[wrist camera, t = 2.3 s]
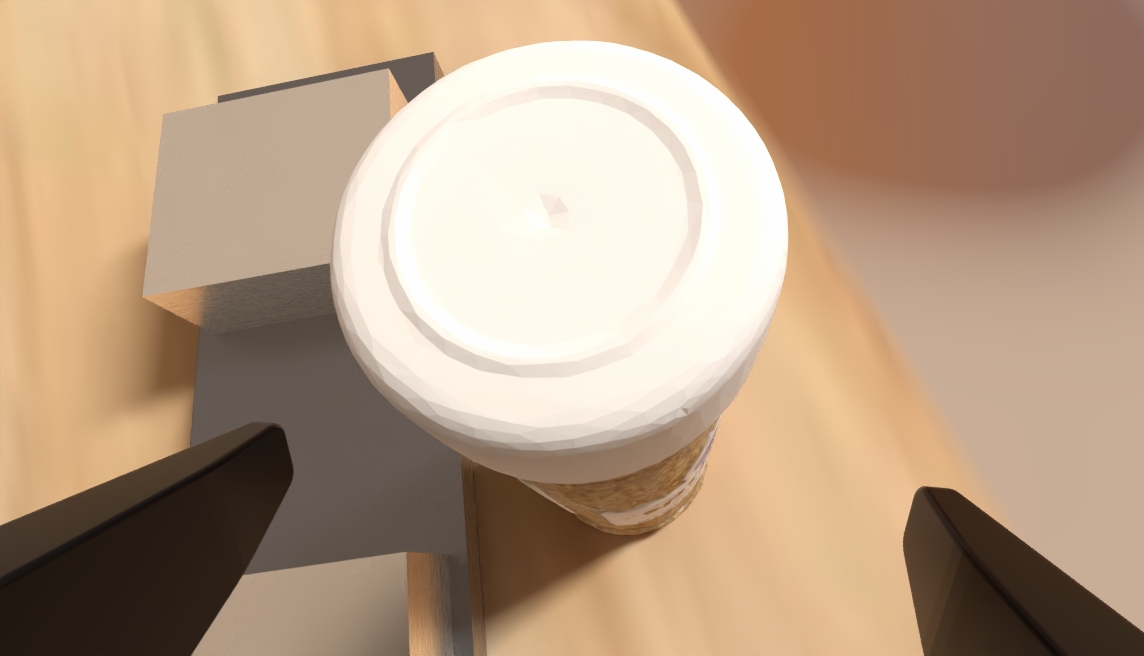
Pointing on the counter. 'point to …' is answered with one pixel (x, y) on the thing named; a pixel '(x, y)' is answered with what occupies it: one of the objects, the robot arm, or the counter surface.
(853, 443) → the counter surface
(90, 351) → the counter surface
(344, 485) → the mounting plate
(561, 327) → the sprinkles bottle
